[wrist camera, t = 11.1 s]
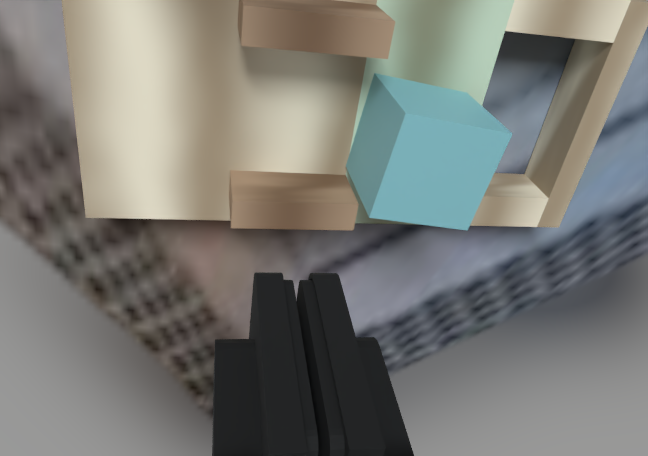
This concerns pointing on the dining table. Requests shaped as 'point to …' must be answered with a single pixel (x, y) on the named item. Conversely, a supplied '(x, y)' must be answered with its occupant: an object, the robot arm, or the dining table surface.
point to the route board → (313, 100)
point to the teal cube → (424, 153)
